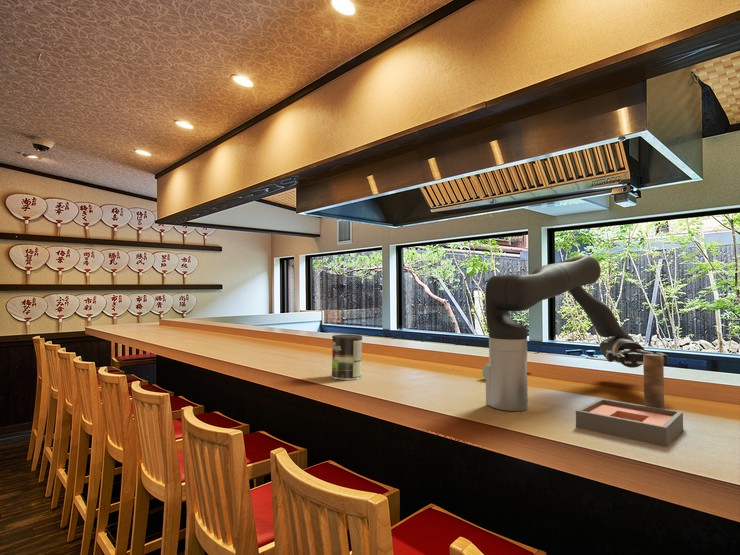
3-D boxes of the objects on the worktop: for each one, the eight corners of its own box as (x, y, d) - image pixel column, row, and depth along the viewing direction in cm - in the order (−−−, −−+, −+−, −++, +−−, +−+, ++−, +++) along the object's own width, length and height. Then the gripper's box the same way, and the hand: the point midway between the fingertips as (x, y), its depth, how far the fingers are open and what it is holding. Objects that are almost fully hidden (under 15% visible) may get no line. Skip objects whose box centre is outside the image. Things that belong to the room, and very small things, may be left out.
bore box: (575, 427, 89) (575, 410, 89) (600, 413, 100) (600, 398, 100) (666, 446, 77) (666, 427, 78) (683, 428, 89) (682, 412, 89)
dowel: (642, 413, 100) (641, 354, 101) (646, 410, 103) (645, 353, 103) (662, 417, 97) (661, 356, 98) (666, 414, 100) (664, 355, 101)
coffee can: (338, 381, 135) (339, 337, 136) (327, 376, 144) (327, 335, 145) (367, 379, 140) (367, 336, 140) (354, 374, 149) (354, 334, 149)
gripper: (601, 339, 129) (611, 345, 114) (655, 341, 124) (673, 348, 109) (601, 364, 129) (611, 373, 113) (656, 366, 124) (674, 377, 108)
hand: (641, 361), depth 111 cm, fingers open, 8 cm apart
